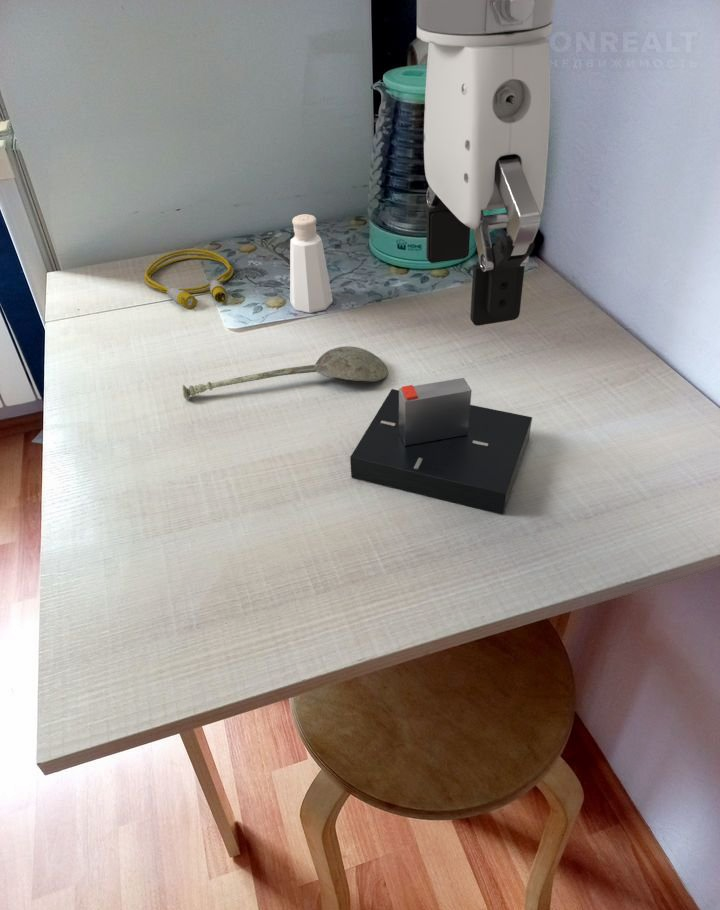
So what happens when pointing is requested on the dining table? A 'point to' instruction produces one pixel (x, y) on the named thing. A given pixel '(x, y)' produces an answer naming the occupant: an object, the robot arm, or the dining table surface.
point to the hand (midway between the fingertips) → (469, 287)
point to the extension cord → (185, 295)
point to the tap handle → (434, 411)
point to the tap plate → (446, 457)
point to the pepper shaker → (308, 268)
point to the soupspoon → (317, 369)
